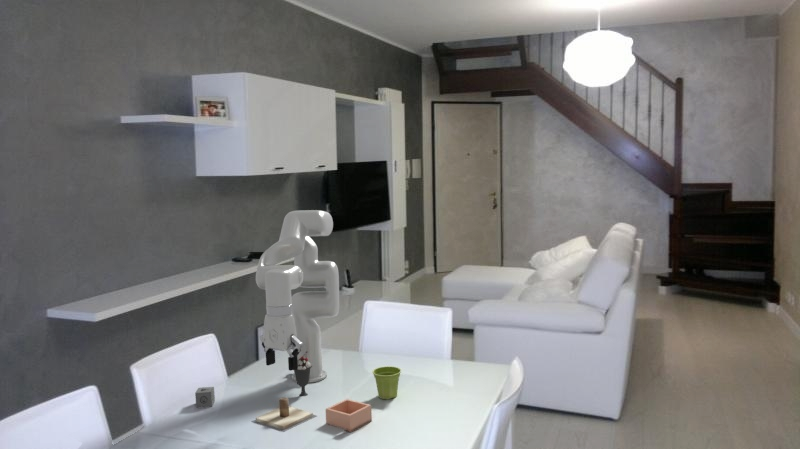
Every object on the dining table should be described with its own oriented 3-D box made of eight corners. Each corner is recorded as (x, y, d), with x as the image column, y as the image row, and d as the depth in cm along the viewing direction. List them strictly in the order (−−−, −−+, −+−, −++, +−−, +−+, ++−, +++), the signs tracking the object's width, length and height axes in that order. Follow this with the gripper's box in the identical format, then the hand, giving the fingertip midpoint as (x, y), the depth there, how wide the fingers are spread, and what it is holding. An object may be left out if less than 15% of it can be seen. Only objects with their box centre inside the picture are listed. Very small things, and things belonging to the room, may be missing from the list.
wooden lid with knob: (256, 421, 197) (255, 401, 196) (285, 408, 207) (284, 389, 206) (283, 429, 190) (282, 409, 189) (312, 416, 199) (312, 397, 199)
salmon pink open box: (326, 425, 194) (325, 408, 193) (347, 414, 201) (347, 398, 201) (350, 432, 188) (350, 415, 188) (371, 421, 196) (371, 405, 195)
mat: (251, 423, 197) (251, 421, 197) (285, 408, 208) (285, 406, 208) (283, 433, 188) (283, 431, 188) (317, 417, 200) (317, 415, 200)
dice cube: (199, 402, 216) (198, 387, 216) (214, 401, 217) (214, 386, 216) (196, 407, 211) (195, 392, 211) (212, 406, 212) (211, 391, 211)
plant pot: (398, 402, 211) (398, 375, 210) (370, 400, 213) (369, 374, 212) (404, 391, 220) (403, 366, 219) (377, 390, 222) (376, 365, 221)
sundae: (317, 393, 221) (315, 350, 219) (307, 400, 214) (305, 356, 213) (299, 392, 223) (297, 349, 221) (289, 398, 216) (287, 354, 215)
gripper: (250, 310, 197) (253, 365, 198) (290, 316, 187) (293, 374, 188) (269, 305, 203) (271, 359, 204) (309, 311, 193) (311, 368, 194)
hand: (281, 366), depth 196 cm, fingers open, 9 cm apart
